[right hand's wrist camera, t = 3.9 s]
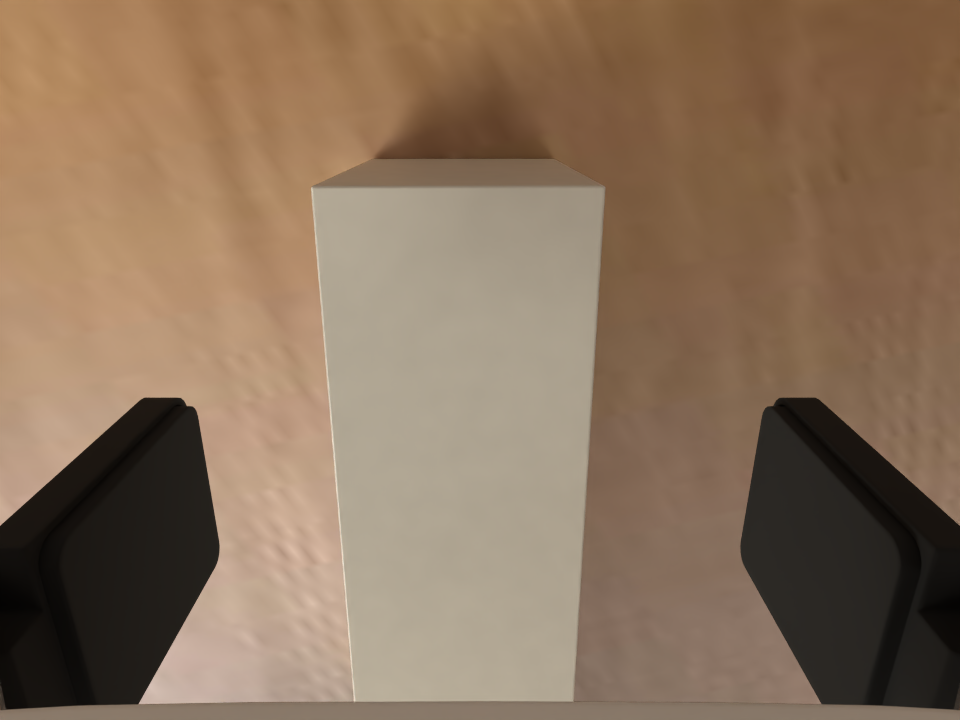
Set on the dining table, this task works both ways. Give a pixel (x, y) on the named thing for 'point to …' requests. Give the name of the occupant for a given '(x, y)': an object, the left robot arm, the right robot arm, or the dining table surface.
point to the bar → (460, 419)
